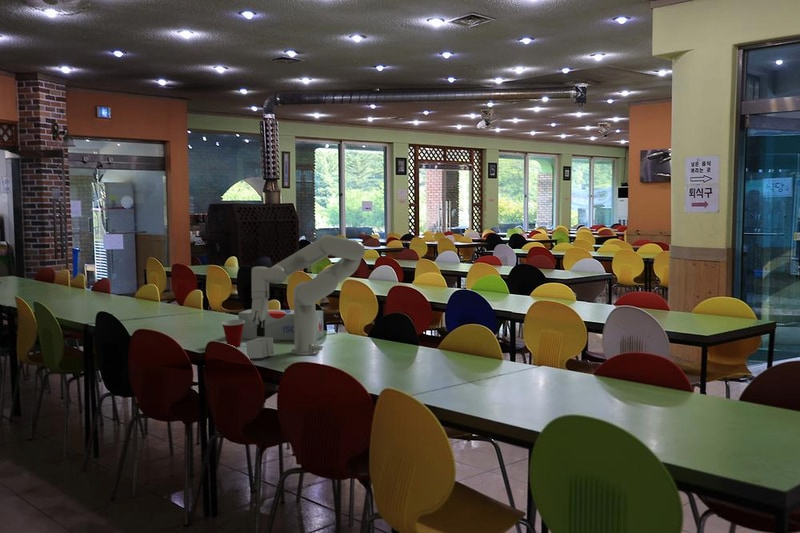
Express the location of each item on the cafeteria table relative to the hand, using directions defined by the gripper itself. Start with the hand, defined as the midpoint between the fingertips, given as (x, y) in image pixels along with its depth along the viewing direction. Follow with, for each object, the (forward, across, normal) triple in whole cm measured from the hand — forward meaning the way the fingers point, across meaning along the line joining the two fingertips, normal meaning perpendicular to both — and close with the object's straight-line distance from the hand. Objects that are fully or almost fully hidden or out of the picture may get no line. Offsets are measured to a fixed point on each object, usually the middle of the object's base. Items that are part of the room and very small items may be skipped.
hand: (260, 336), depth 334 cm
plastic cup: (+8, -16, -18) cm, 26 cm away
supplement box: (+4, +1, +3) cm, 5 cm away
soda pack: (+9, -42, -3) cm, 43 cm away
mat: (+8, +7, 0) cm, 11 cm away
